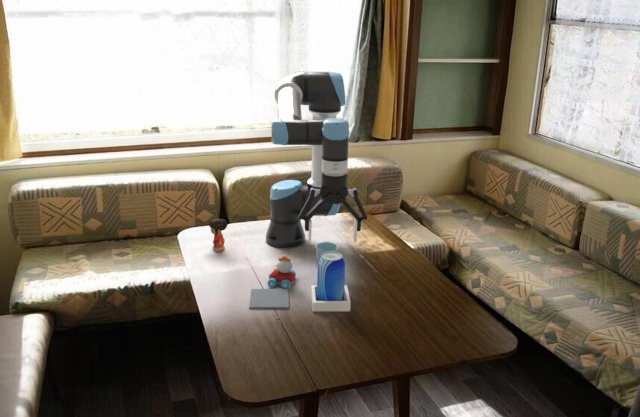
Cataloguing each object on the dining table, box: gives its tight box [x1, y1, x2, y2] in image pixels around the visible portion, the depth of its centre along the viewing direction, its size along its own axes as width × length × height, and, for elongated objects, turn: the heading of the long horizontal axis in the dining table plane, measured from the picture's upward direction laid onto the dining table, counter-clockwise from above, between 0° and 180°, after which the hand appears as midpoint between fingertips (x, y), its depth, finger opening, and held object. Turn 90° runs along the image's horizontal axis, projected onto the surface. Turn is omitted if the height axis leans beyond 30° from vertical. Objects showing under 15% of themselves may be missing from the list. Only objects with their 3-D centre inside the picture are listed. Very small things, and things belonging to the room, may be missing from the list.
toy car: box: [267, 255, 297, 289], centre depth 205 cm, size 9×9×10 cm
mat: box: [249, 288, 290, 310], centre depth 195 cm, size 12×12×1 cm
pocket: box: [310, 284, 352, 312], centre depth 194 cm, size 12×12×3 cm
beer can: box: [316, 251, 346, 301], centre depth 191 cm, size 8×8×16 cm
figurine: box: [208, 218, 228, 253], centre depth 229 cm, size 6×6×12 cm
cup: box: [315, 241, 339, 267], centre depth 211 cm, size 8×8×10 cm
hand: (332, 240), depth 187 cm, fingers open, 13 cm apart
